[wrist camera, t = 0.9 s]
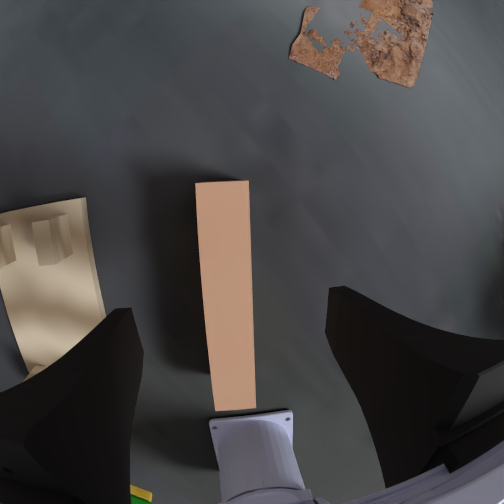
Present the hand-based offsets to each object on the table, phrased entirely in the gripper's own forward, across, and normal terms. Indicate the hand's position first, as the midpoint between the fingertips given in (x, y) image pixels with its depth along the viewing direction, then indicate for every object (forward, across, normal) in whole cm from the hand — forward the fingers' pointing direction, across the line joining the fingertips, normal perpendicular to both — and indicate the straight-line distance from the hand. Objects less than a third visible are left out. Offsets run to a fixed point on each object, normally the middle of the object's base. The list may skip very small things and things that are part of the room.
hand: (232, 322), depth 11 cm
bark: (+16, -15, -20) cm, 30 cm away
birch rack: (+12, +15, +6) cm, 20 cm away
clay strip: (+12, 0, +5) cm, 13 cm away
